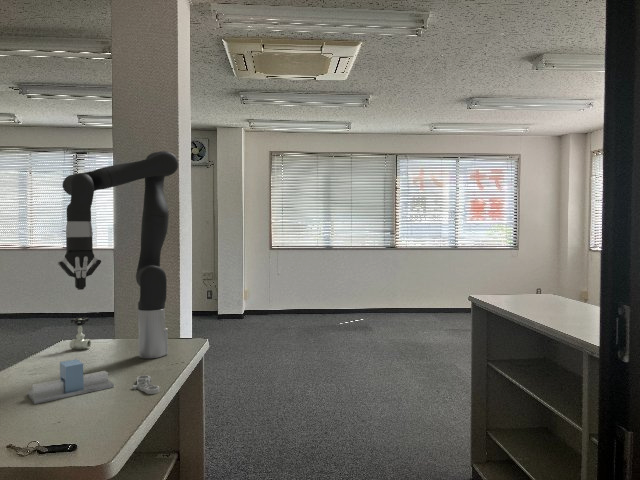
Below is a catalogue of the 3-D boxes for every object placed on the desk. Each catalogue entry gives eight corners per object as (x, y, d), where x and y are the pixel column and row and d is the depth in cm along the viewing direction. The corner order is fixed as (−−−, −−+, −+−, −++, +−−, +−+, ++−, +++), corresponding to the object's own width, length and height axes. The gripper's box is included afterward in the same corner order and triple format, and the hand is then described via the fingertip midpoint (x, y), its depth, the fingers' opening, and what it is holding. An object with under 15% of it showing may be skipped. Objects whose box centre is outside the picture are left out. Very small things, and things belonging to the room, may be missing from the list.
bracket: (161, 373, 144) (158, 387, 130) (161, 379, 144) (158, 394, 130) (135, 375, 142) (129, 390, 128) (135, 382, 142) (129, 397, 128)
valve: (84, 351, 178) (83, 320, 178) (67, 351, 178) (66, 320, 178) (93, 347, 184) (92, 317, 184) (76, 347, 184) (76, 317, 184)
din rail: (103, 379, 143) (103, 367, 143) (113, 387, 136) (113, 375, 136) (27, 394, 130) (27, 382, 130) (34, 404, 123) (34, 391, 123)
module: (77, 382, 137) (76, 359, 137) (83, 388, 132) (83, 363, 132) (60, 386, 134) (59, 362, 134) (66, 391, 129) (65, 366, 129)
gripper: (97, 235, 157) (98, 286, 157) (53, 236, 148) (54, 290, 148) (104, 235, 151) (105, 288, 151) (59, 236, 142) (60, 292, 143)
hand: (80, 289), depth 150 cm, fingers closed
